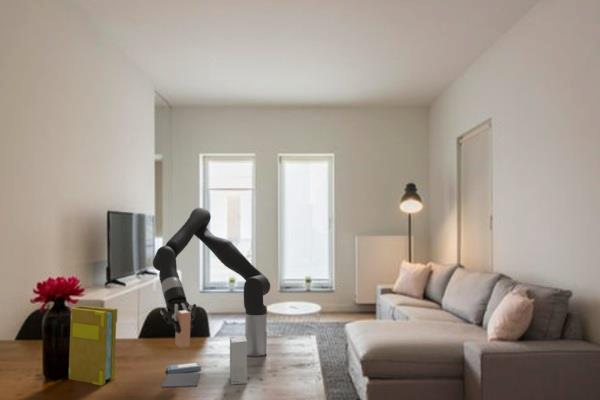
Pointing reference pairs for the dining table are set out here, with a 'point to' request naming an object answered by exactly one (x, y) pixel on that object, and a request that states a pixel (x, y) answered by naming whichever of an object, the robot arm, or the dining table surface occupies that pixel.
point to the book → (92, 344)
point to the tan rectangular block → (183, 329)
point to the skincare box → (238, 360)
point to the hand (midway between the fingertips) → (184, 331)
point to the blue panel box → (183, 368)
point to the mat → (181, 380)
